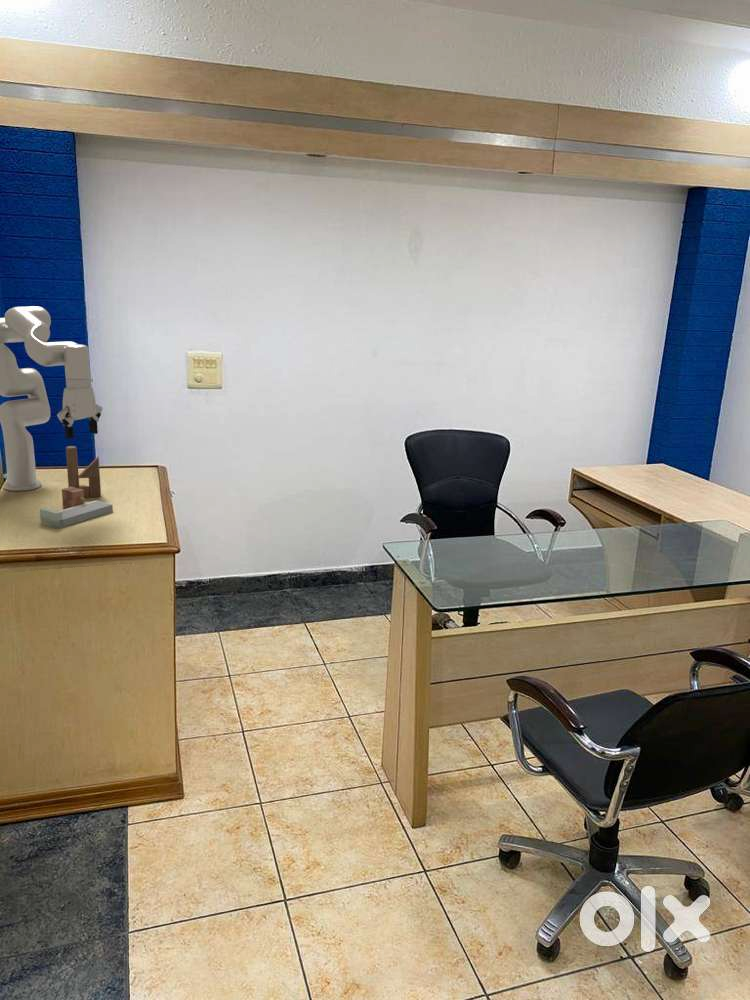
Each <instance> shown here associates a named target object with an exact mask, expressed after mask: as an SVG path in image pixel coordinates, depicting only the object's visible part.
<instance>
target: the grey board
mask: <svg viewBox="0 0 750 1000" xmlns="http://www.w3.org/2000/svg"><path fill="white" fill-rule="evenodd" d="M113 506H114V505H113V504H111V503H107V502H104V501H101V500H97V499H96V500H92V501H88V502H84V504H81V505H78V506H74V507H71V508H67V509H61V510H56V509H52V508H50V507H49V508H48V507H46V506H45V507H41V508H39V515H40V516H39V519H40V524H41V525H44V526H47V527H50V526H51V528H53V527H54V529H57V528H59V529H62V528H65V527H67V526H71V524H72V525H75V524H78V523H82V522H84V520H85V521H88V520H90V519H94V518H97V517H100V516H103V515H107V514H109V513H113V512H114V510H113V509H114V507H113ZM87 519H88V520H87ZM77 522H78V523H77ZM74 523H75V524H74ZM64 526H65V527H64ZM61 527H62V528H61Z"/></svg>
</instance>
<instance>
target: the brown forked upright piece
mask: <svg viewBox="0 0 750 1000" xmlns="http://www.w3.org/2000/svg"><path fill="white" fill-rule="evenodd" d="M65 455H66V469H67V470H66V471H67V484H68V487H75V488H79V489H83V490H84V498H100V497H101V495H102V487H101V475H100V474H101V473H100V459H99V458H100V457H99V456H97V457H96V458H94V459H93V461H92V462H91V463H89V465H88V466H86V468H84V469H83V471H82V472H80V473H79V464H78V462H79V461H78V459H79V458H78V447H77V446H75V445H68V446H66V447H65ZM80 479H88V485H85V484H81V485H80ZM68 487H67V488H68Z"/></svg>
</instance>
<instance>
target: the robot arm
mask: <svg viewBox="0 0 750 1000" xmlns="http://www.w3.org/2000/svg"><path fill="white" fill-rule="evenodd" d="M51 319H52V318H51V315H50V312H48V310H46V309H45V308H44V307H42V306H38V305H37V306H34V305H31V306H14V307H12V308H9V309H8V310H7V311H6V312H5V313H4V317H0V396H1V397H5V398H12V397H21V396H27V398H23V399H21V398H20V399H14V400H13V399H12V400H7V401H5V402H3V403H2V404H0V425H1V429H2V435H3V436H2V437H3V443H4V444H3V445H4V454H5V464H6V473H4V474H3V475H2V476H3V479H6V482H4V483H3V488H4V489H5V490H7V491H11V492H25V491H32V490H36V489H39V488H40V487H41V486H42V481H40V480H39V479H37V473H36V472H37V471H36V470H37V469H36V459H35V447H34V446H35V445H34V440H33V436H32V435H31V433H30V432H29V431H28V430H27V428H26V427H29V426H30V427H31V426H36V425H42V424H45V423H47V422H48V421H50V418H51V407H50V403H49V399H48V395H47V390H46V386H45V382H44V379H43V377H42V375H41V374H40V372H39V371H38V370H37V369H36V368H33V367H32V368H31V367H25V368H19V366H18V363H17V358H16V356H15V354H14V353H13V351H11V349H10V348H9V347H8V346H7V345H5V344H7V343H23V342H24V344H23V345H24V349H25V352H26V353H27V356H28V357H30V359H31V360H33V361H34V362H35V363H36V364H38V365H40V366H42V367H55V366H56V367H57V366H64V373H65V387H64V389H63V394H62V409H61V410H60V411H59V412H58V413H57V414H56V416H57V417H58V420H59V423H61V424H62V426H64V431H65V432H64V435H65V439H69V440H73V439H75V433H74V430H75V429H74V426H73V424H74V422H75V421H78V420H83V419H88V420H89V421H88V425H89V426H88V427H89V433H90V434H93V435H96V434H99V433H98V432H99V431H98V422H99V419H100V418H101V415H102V412H103V407H102V406H100V404H99V405H98V404H96V397H95V391H94V389H93V386H92V383H93V378H91V364H90V363H91V361H90V349H89V347H88V345H85V344H81V343H80V344H79V343H76V342H75V341H70V340H69V341H48V340H49V339H50V337H51V330H50V326H51V323H52V320H51Z"/></svg>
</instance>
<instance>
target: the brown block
mask: <svg viewBox="0 0 750 1000" xmlns="http://www.w3.org/2000/svg"><path fill="white" fill-rule="evenodd" d="M61 496H62V497H61V500H62V510H64V509H67V508H71V507H74V506H78V505H81V504H84V503H85V502H86V497H84V490H83V489H79V488H75V487H63V488H62V489H61Z"/></svg>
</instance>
